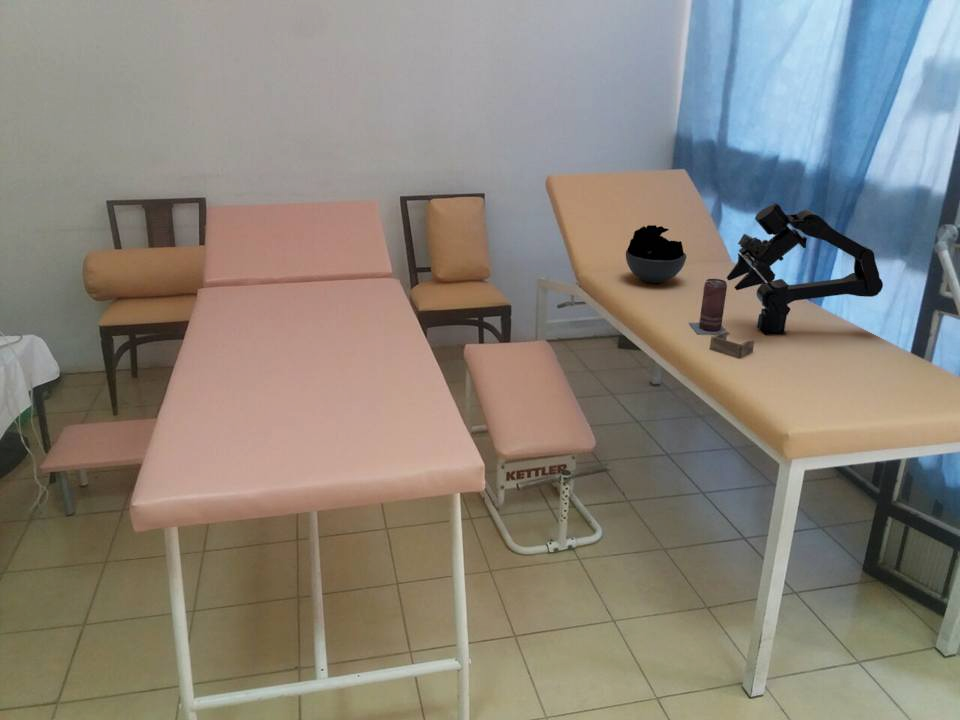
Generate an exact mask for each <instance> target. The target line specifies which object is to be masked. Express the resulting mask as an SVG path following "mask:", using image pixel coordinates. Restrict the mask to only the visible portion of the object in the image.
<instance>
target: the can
mask: <svg viewBox="0 0 960 720" xmlns="http://www.w3.org/2000/svg"><path fill="white" fill-rule="evenodd" d="M727 289H728V284H727V281H726V280H724V279H719V278H708V279H706V280H705V282H704V285H703V293H702V302H701V308H700V317H699V322H698V323H699V326H700V328H701V329H703V330H706V331H719V330H720V329H721V325H722V324H723V317H724V310H725V303H726V296H727ZM722 326H723V325H722Z"/></svg>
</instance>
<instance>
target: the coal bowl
mask: <svg viewBox="0 0 960 720" xmlns="http://www.w3.org/2000/svg"><path fill="white" fill-rule="evenodd" d="M668 231H670V229H669V228H666V227H665V228H664V226H657V224H656V225H655V224H654V225H653V224H652V225H650V224H647V225H646V226H645V225H643V226H641V227H640V228H639V229H637V230H634V232H633V236H632V238H631V239H630V241H629V244H628V247H627V249H626V251H625V260H626V264H627V266H628V268H629V270H630V271H631V273H632V274H633V275H634V276H635V277H636V278H638V279H640V280H642V281H644V282H646V283H650V284H661V283H664V282H667V281H669V280H671V279H673V278H675V276H677V275H678V274H679V272H681V271H682V269H683V267H684V265H685V263H686V260H687V254H686V252H684V248H683V247H684V246H683V243H682V241H677V240H669V239H667V238H666V237H664V236H662V235H663V233H665V232H668Z"/></svg>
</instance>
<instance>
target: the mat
mask: <svg viewBox="0 0 960 720" xmlns="http://www.w3.org/2000/svg"><path fill="white" fill-rule="evenodd" d="M688 323H689V324H690V325H689V324H688V325H689V327H691V328H692V330H693V329H694V330H693V331H694V332H695V334H696V335H698V334H711V335H716V334H719V333H721V332H723V331H727V330H726V329H727V328H725V327H724V326H723V325H721V329H720V330H719V331H706V330H703V329H701V328H700V326H699V323H700V322H688ZM727 335H730V333H729V332H727Z"/></svg>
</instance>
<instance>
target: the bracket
mask: <svg viewBox="0 0 960 720" xmlns="http://www.w3.org/2000/svg"><path fill="white" fill-rule="evenodd" d="M727 332H728V330H726V331H723V332H721V333H719V334H713V335H712V336H711V337H710V343H709V350H711V349H713V350H712V351H715V350H716V351H715V352H718V351H719V353H721V352H722V353H721V354H724V353H725V354H724V355H727V354H728V355H727V356H731V357H733V358H738V359H741V358H743V357H745V356H747V355H749V354H751V353H753V351H754V346H755V342H756V341H755V339H754V338H750V339H748V340H747V341H744V342H742V343H737V342H734V341H731V340H727V337H728V334H727ZM728 333H729V332H728Z"/></svg>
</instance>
